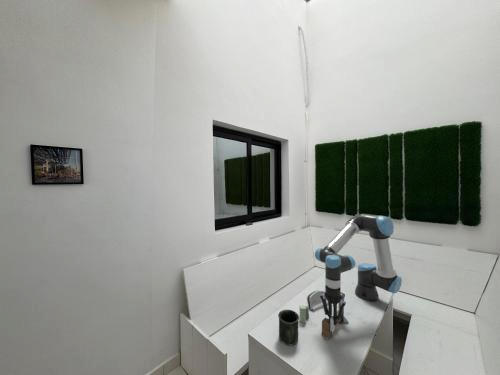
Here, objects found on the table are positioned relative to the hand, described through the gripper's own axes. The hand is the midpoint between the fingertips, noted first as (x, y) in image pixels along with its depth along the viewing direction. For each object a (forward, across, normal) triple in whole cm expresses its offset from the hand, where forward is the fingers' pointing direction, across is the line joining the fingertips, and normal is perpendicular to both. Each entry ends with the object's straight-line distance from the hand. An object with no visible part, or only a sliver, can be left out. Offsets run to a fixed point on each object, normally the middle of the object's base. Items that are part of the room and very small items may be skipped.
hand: (332, 329), depth 105 cm
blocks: (+5, +18, -5) cm, 20 cm away
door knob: (+5, 0, -18) cm, 19 cm away
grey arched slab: (+5, +17, -24) cm, 30 cm away
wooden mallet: (+5, +2, -7) cm, 9 cm away
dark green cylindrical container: (+5, +18, +13) cm, 23 cm away
